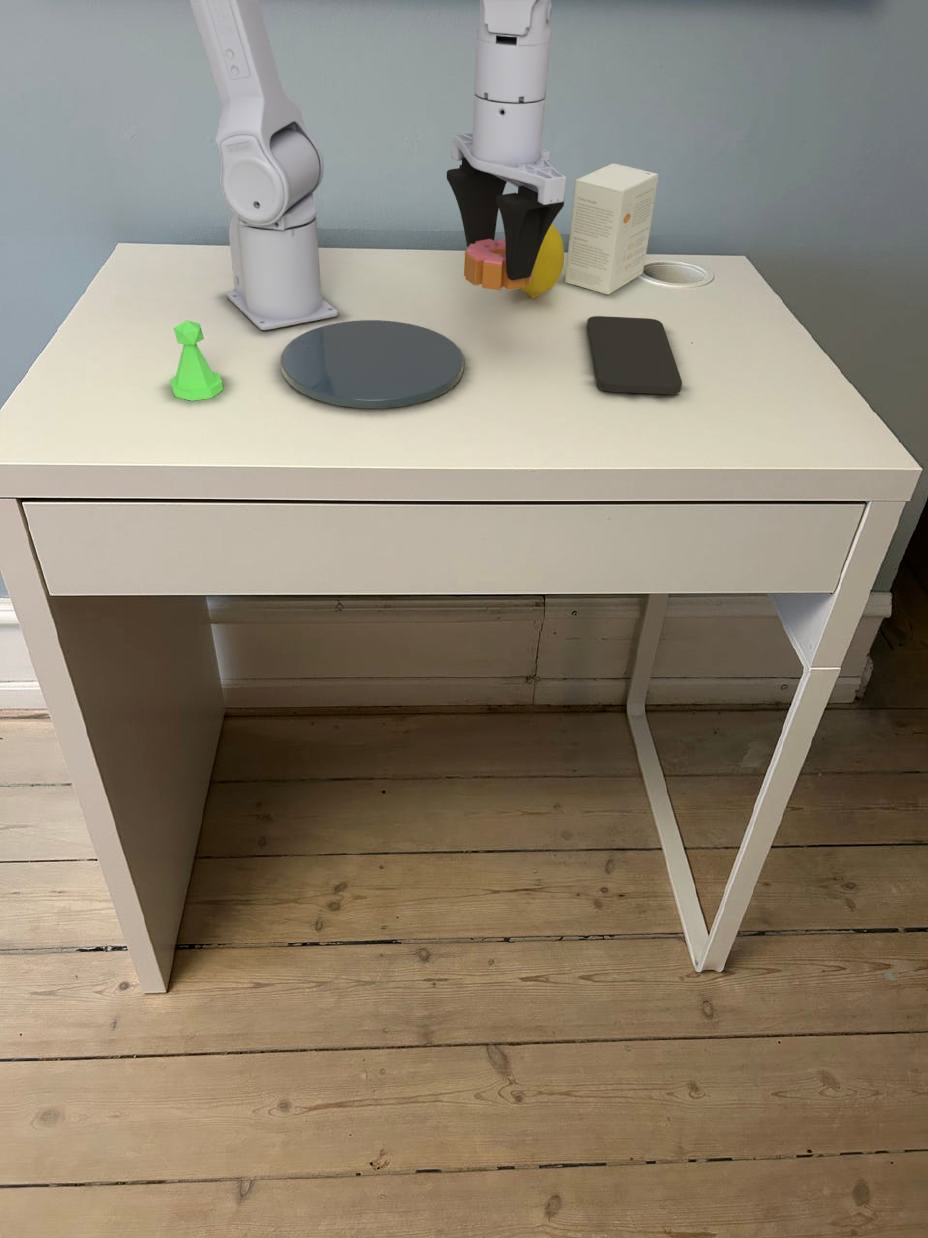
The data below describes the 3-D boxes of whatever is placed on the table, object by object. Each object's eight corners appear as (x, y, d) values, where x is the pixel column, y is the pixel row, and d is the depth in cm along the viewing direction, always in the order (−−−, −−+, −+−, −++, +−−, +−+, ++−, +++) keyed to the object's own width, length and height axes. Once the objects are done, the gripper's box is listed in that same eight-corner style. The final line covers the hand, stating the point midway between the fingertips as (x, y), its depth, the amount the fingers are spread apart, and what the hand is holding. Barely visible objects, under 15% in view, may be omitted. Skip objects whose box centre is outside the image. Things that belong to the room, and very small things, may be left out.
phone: (661, 318, 93) (685, 387, 82) (660, 326, 94) (683, 396, 82) (586, 315, 93) (598, 383, 82) (585, 323, 94) (597, 392, 82)
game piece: (228, 378, 82) (219, 310, 78) (217, 401, 79) (208, 332, 75) (177, 376, 82) (166, 308, 78) (165, 399, 79) (152, 329, 75)
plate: (253, 349, 86) (252, 339, 86) (408, 318, 93) (408, 308, 92) (329, 427, 76) (328, 416, 75) (497, 385, 83) (498, 375, 82)
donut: (452, 271, 87) (453, 244, 85) (507, 261, 89) (509, 234, 88) (487, 294, 83) (489, 266, 81) (544, 283, 85) (547, 255, 84)
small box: (599, 262, 107) (612, 161, 100) (644, 274, 104) (660, 172, 98) (562, 282, 102) (573, 177, 95) (608, 296, 99) (623, 189, 93)
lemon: (556, 311, 96) (564, 229, 91) (501, 304, 97) (507, 223, 91) (562, 290, 100) (571, 211, 95) (510, 284, 101) (516, 205, 96)
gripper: (604, 111, 74) (583, 285, 82) (502, 73, 83) (493, 233, 92) (529, 119, 71) (515, 299, 79) (431, 79, 80) (429, 244, 89)
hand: (499, 265), depth 85 cm, fingers closed on donut, 6 cm apart
